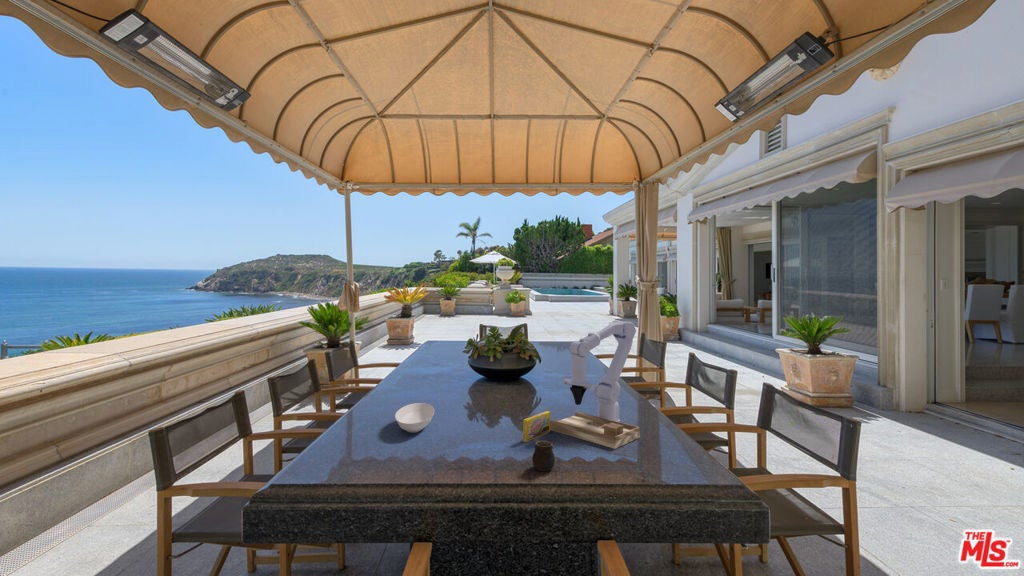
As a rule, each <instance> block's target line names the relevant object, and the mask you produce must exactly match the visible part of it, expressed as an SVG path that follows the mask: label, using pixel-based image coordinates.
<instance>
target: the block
mask: <svg viewBox="0 0 1024 576" xmlns="http://www.w3.org/2000/svg"><path fill="white" fill-rule="evenodd" d="M622 433H623V425H619V424H615V423H609V424H607V425H604V434H606V435H610V436H613V437H615V436H618V435H620V434H622Z"/></svg>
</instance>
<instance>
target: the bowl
mask: <svg viewBox="0 0 1024 576" xmlns="http://www.w3.org/2000/svg"><path fill="white" fill-rule="evenodd" d="M435 411H436V410H435V408H434V406H433V405H431V404H429V403H424V402H417V403H411V404H407V405H404V406H403V407H401V408H400V409H398V410H397V411H396V412H395V414H394V418H395V421H396V423H397V424H398V426H399V427H400V429H402V430H403V431H406V432H407V433H410V434H411V433H412V434H415V433H419V432H420V431H422V430H423V429H424V428H425V427H427V426H428V425H429V424H430V423H431V421H432V419H433V417H434V415H435Z"/></svg>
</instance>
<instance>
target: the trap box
mask: <svg viewBox="0 0 1024 576" xmlns="http://www.w3.org/2000/svg"><path fill="white" fill-rule="evenodd" d="M574 414H575V415H571V416H568V417H566V418H563V419H559V420H554V419H550V431H552V432H556V433H560V434H562V435H566V436H570V437H573V438H577V439H579V440H583V441H586V442H590V443H594V444H597V445H601V446H603V447H607V448H611V449H613V450H615V449H617V448H620V447H622V446H624V445H627V444H628V443H630V442H633V441H635V440H637V439H640V438H641V427H640V426H636V425H634V424H629V423H625V422H621V421H620V422H617V421H613V420H609V419H605V418H601V417H598V415H597V416H596V415H592V414H588V413H583V412H580V411H575V413H574ZM609 423H615V424H619V425H623V433H622V434H620V435H618V436H615V437H613V436H610V435H606V434H604V425H607V424H609Z"/></svg>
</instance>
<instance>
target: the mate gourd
mask: <svg viewBox="0 0 1024 576" xmlns="http://www.w3.org/2000/svg"><path fill="white" fill-rule="evenodd" d="M554 441H555V440H552V441H548V440H537V441H535V443H534V444H535V445H534V451H533V454H532V457H531V458H532V460H531V461H532V464H533V467H534V468H535V469H536V470H537V471H540V472H548V471H550V470H551V469H553V467H554V465H555V461H556V458H555V454H554V451H553V449H554V447H553V445H554Z"/></svg>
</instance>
